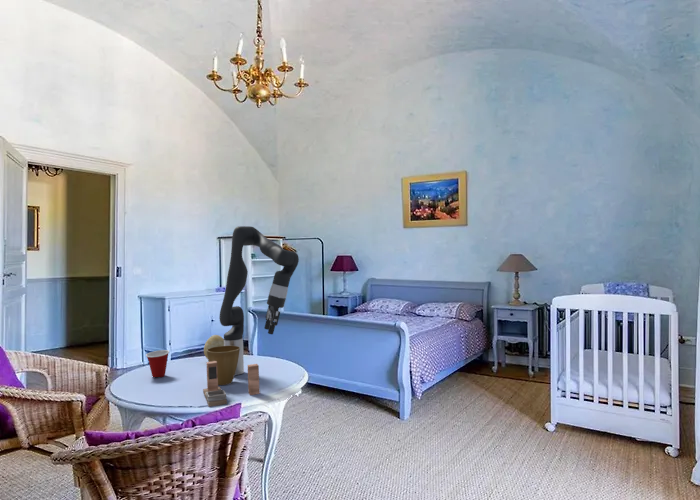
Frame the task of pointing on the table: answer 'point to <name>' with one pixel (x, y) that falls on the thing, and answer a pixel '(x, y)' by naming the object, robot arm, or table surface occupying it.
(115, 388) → the table surface
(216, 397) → the gravestone
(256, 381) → the tall copper pillar
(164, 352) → the plastic cup
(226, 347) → the plant pot
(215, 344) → the fossilized egg
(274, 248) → the robot arm
